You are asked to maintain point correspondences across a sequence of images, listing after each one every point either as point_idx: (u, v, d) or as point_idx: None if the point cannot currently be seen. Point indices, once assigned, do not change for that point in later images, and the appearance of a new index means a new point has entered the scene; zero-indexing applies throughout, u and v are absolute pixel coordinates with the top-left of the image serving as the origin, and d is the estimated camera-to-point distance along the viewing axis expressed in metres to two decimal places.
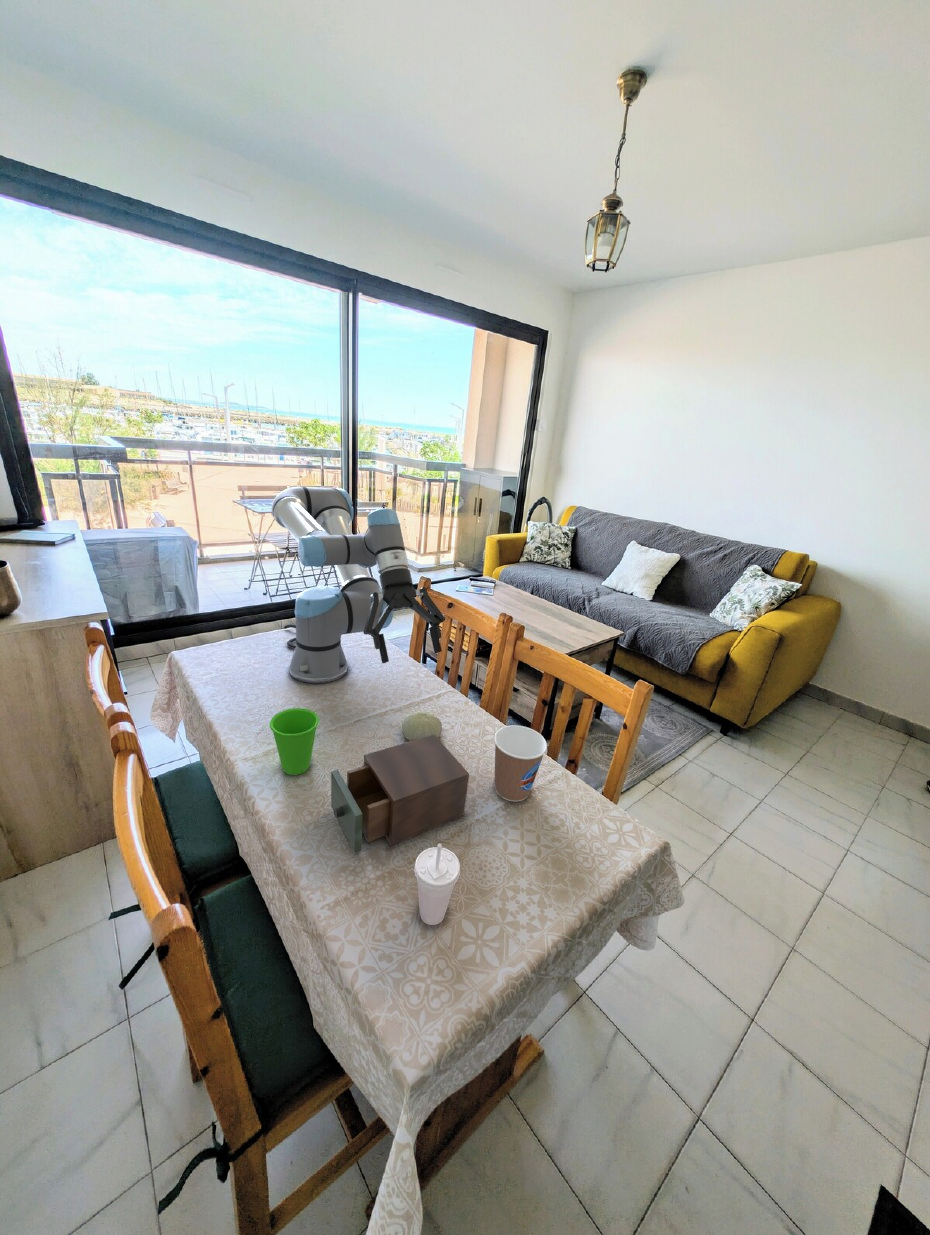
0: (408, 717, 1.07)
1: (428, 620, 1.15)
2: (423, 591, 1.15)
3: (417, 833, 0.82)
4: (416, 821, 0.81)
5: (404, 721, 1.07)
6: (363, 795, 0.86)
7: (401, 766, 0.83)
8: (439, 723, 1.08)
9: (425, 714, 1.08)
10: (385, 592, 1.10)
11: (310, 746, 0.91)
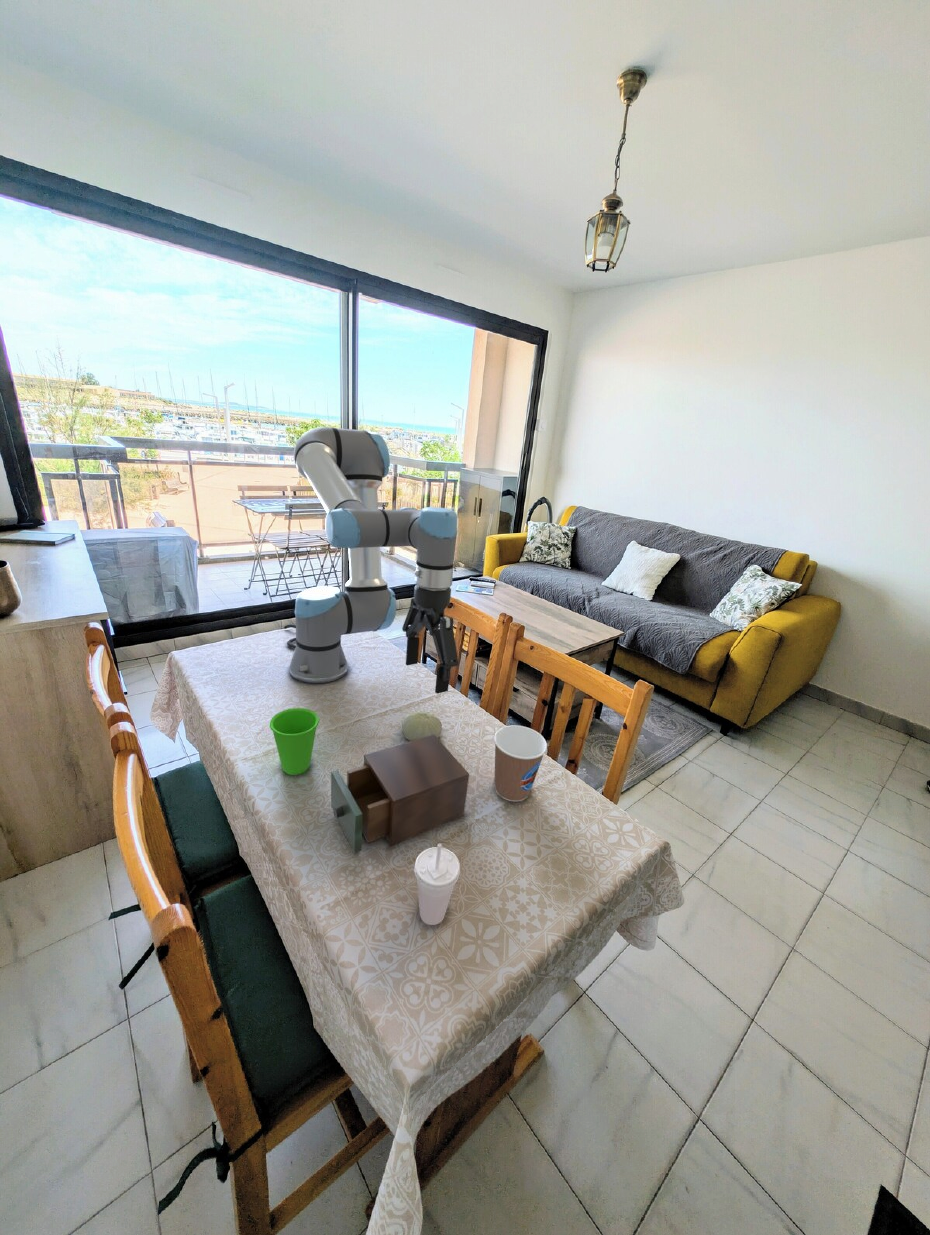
0: (408, 717, 1.07)
1: None
2: (440, 623, 0.93)
3: (417, 833, 0.82)
4: (416, 821, 0.81)
5: (404, 721, 1.07)
6: (363, 795, 0.86)
7: (401, 766, 0.83)
8: (439, 723, 1.08)
9: (425, 714, 1.08)
10: None
11: (310, 746, 0.91)
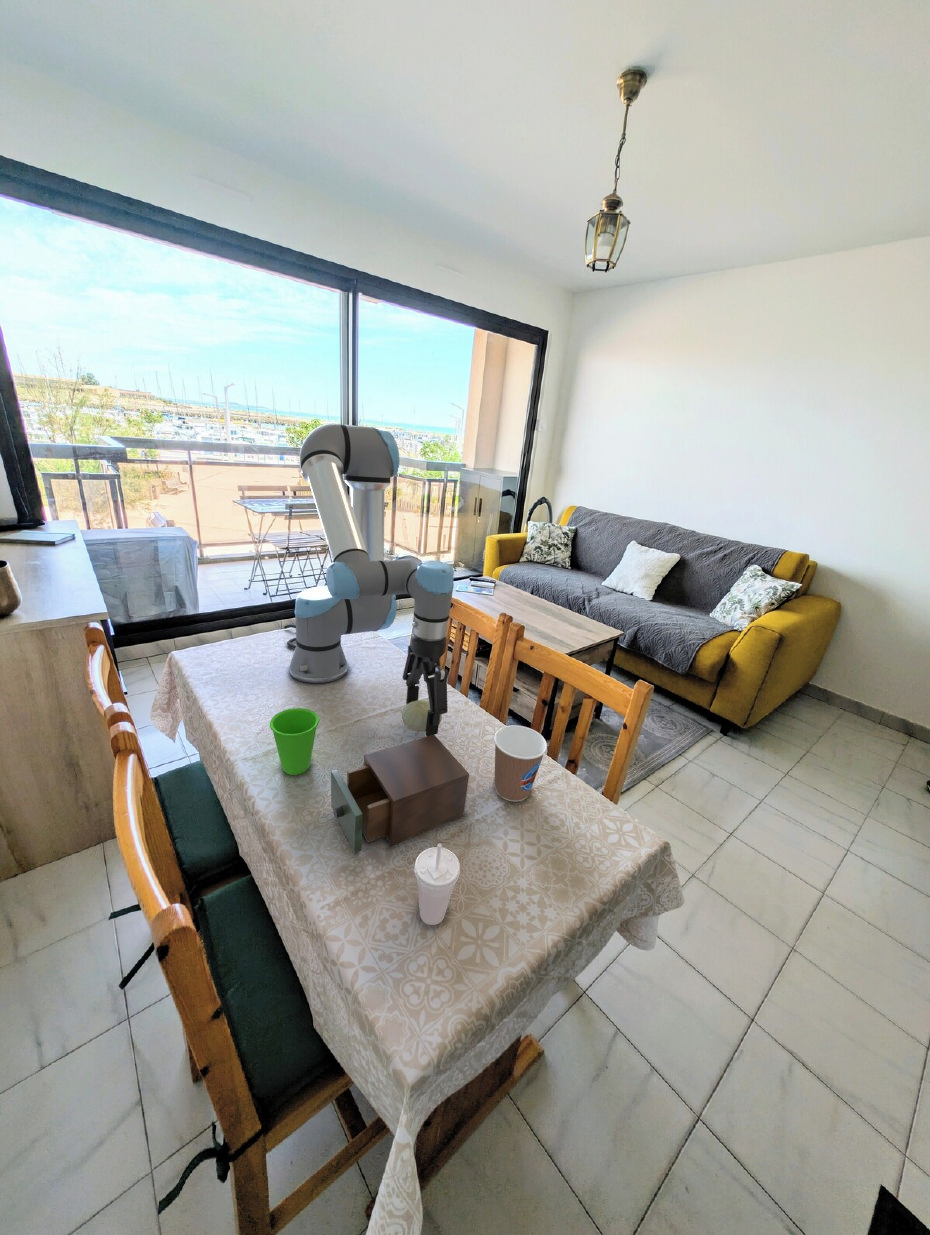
0: (408, 705, 1.07)
1: None
2: (435, 675, 0.97)
3: (417, 833, 0.82)
4: (416, 821, 0.81)
5: (404, 709, 1.07)
6: (363, 795, 0.86)
7: (401, 766, 0.83)
8: None
9: (425, 703, 1.08)
10: None
11: (310, 746, 0.91)
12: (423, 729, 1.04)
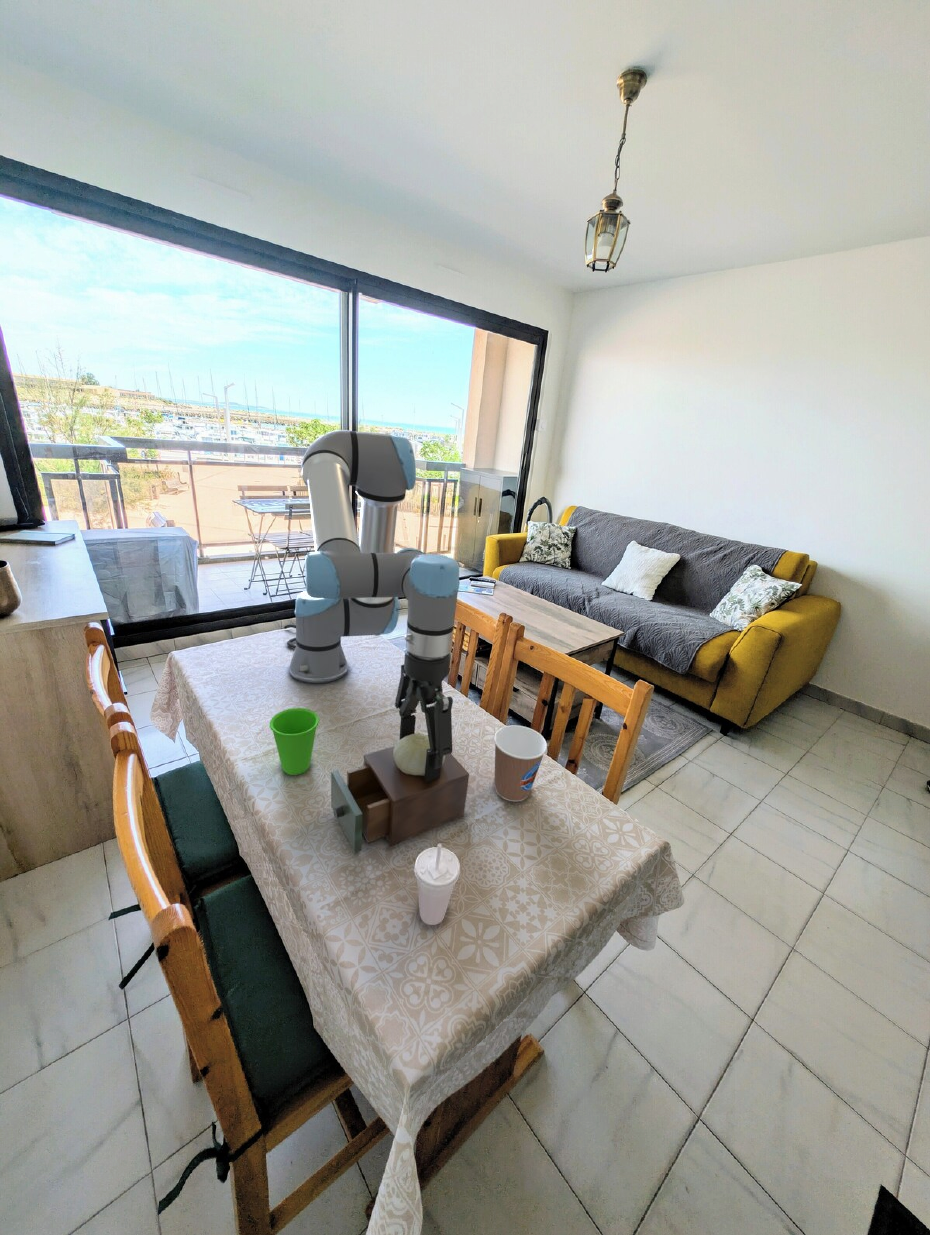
0: (402, 741, 0.83)
1: None
2: (436, 704, 0.74)
3: (417, 833, 0.82)
4: (416, 821, 0.81)
5: (396, 747, 0.83)
6: (363, 795, 0.86)
7: None
8: None
9: (423, 737, 0.84)
10: None
11: (310, 746, 0.91)
12: (421, 773, 0.80)
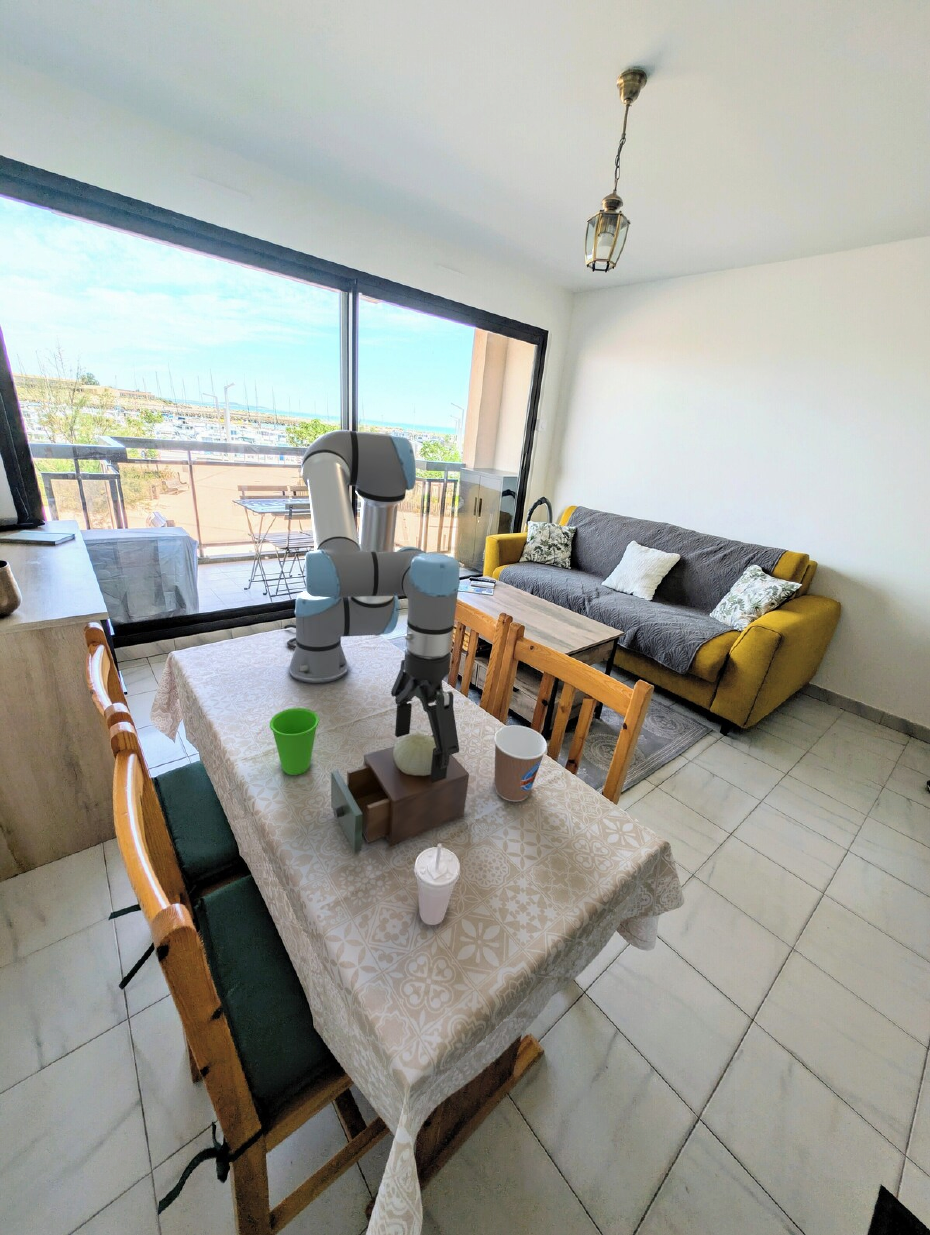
0: (402, 741, 0.83)
1: None
2: (437, 700, 0.73)
3: (417, 833, 0.82)
4: (416, 821, 0.81)
5: (396, 747, 0.83)
6: (363, 795, 0.86)
7: None
8: None
9: (423, 737, 0.84)
10: None
11: (310, 746, 0.91)
12: (421, 773, 0.80)
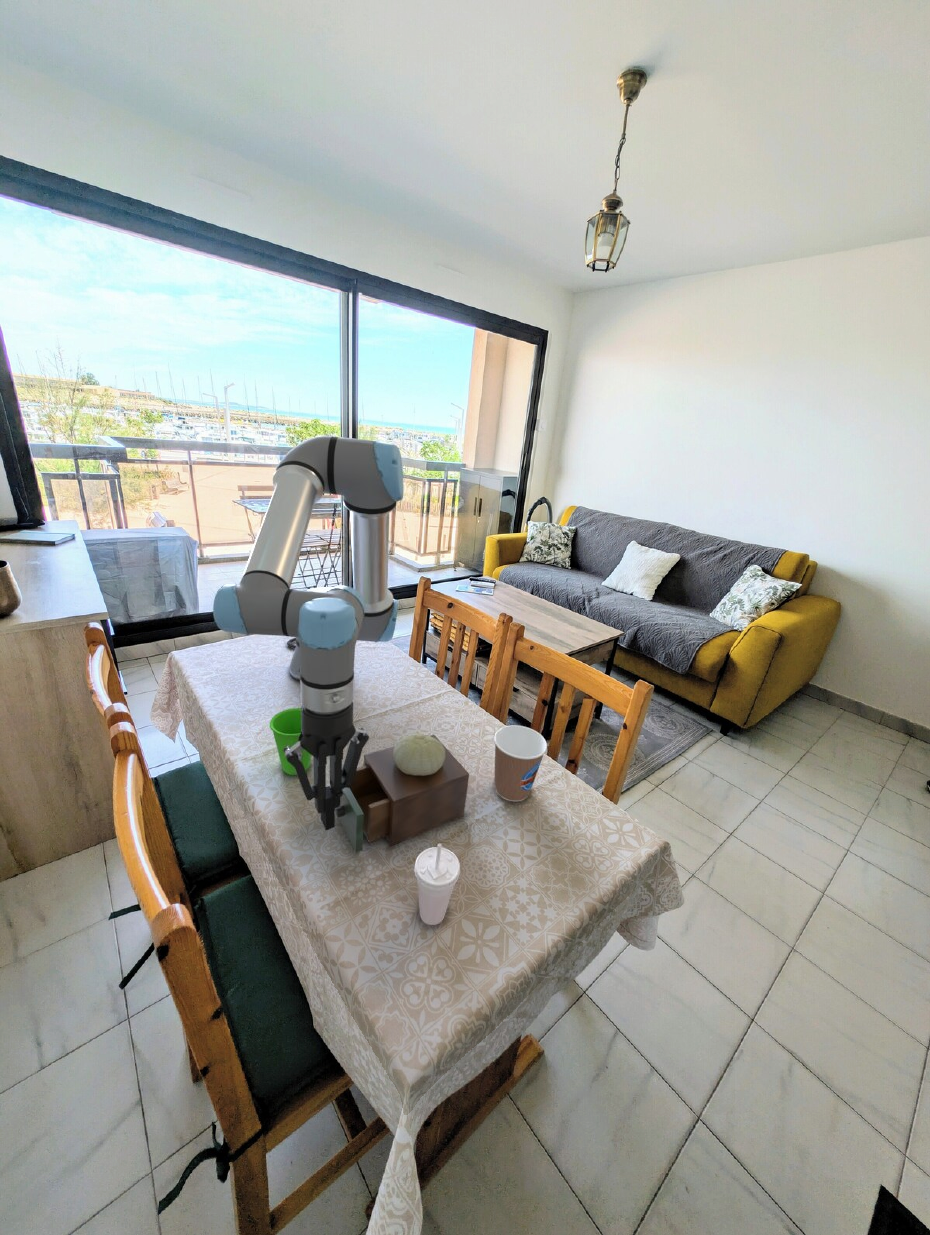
0: (402, 741, 0.83)
1: (331, 779, 0.75)
2: (362, 740, 0.74)
3: (417, 833, 0.82)
4: (416, 821, 0.81)
5: (396, 747, 0.83)
6: (364, 795, 0.86)
7: None
8: (442, 749, 0.84)
9: (424, 737, 0.84)
10: (304, 740, 0.69)
11: None
12: (421, 773, 0.80)
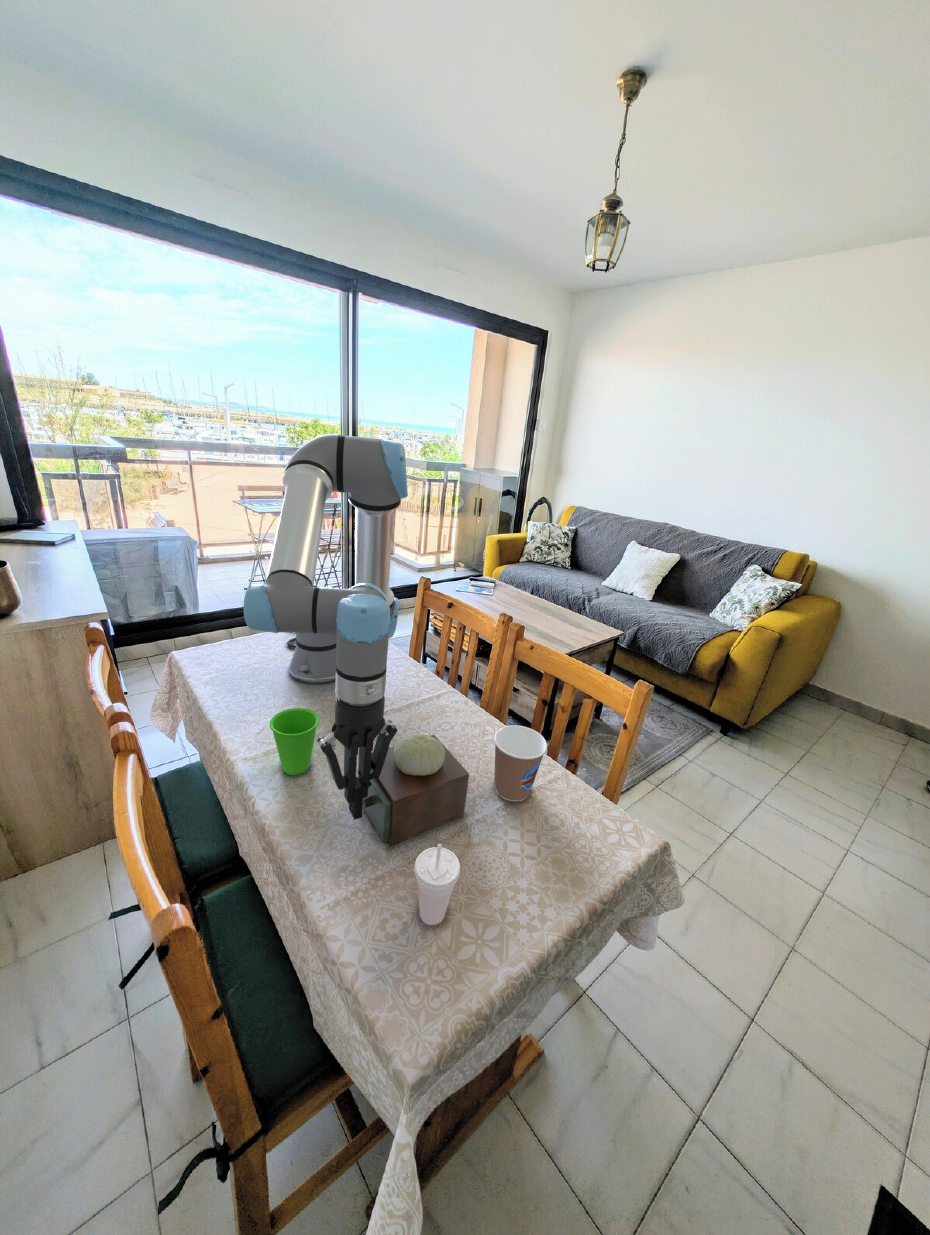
0: (402, 741, 0.83)
1: (360, 769, 0.78)
2: (391, 733, 0.77)
3: (417, 833, 0.82)
4: (416, 821, 0.81)
5: (396, 747, 0.83)
6: None
7: None
8: (442, 749, 0.84)
9: (424, 737, 0.84)
10: (338, 731, 0.71)
11: (310, 746, 0.91)
12: (421, 773, 0.80)
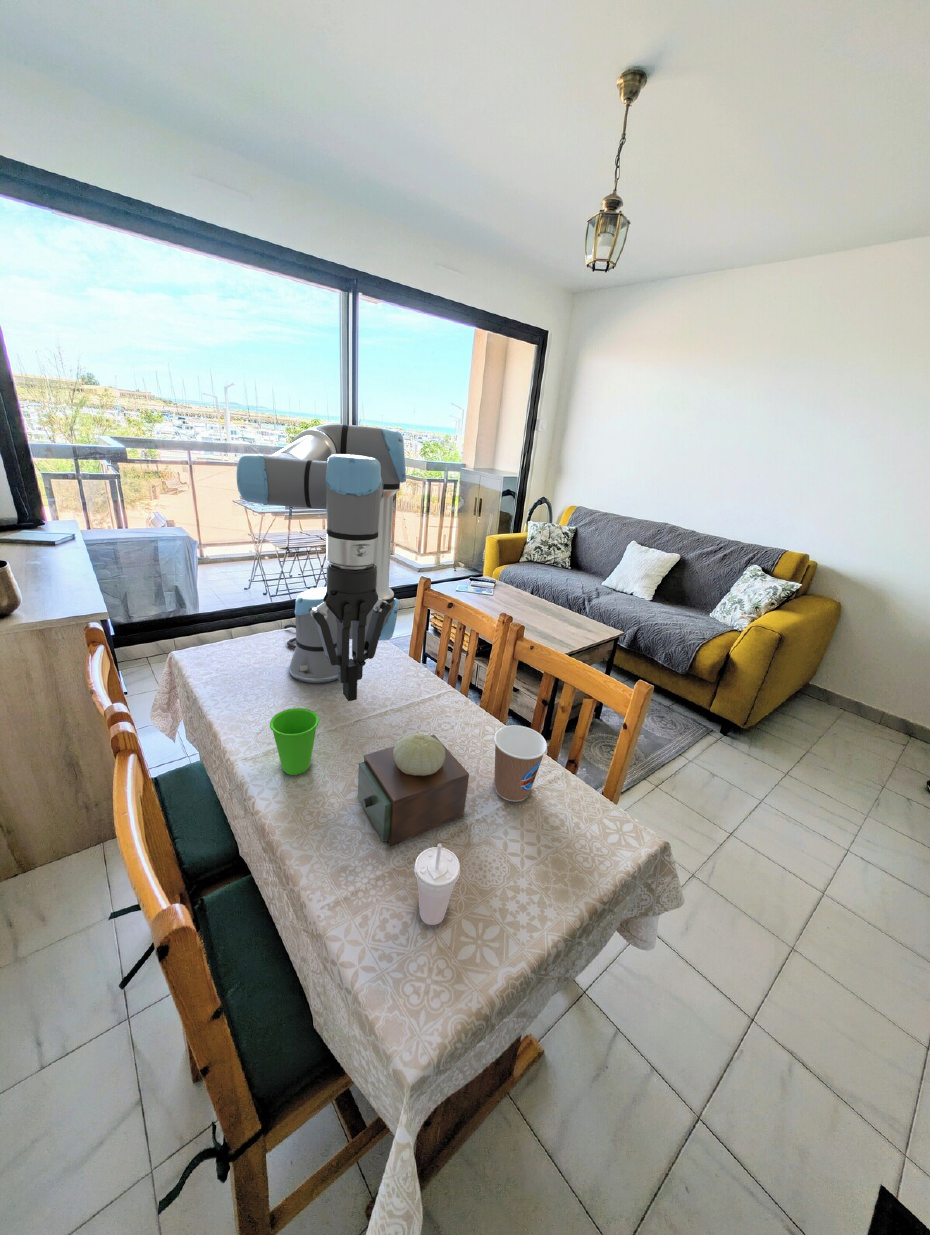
0: (402, 741, 0.83)
1: (354, 648, 0.77)
2: (384, 609, 0.76)
3: (417, 833, 0.82)
4: (416, 821, 0.81)
5: (396, 747, 0.83)
6: None
7: None
8: (442, 749, 0.84)
9: (424, 737, 0.84)
10: (330, 598, 0.70)
11: (310, 746, 0.91)
12: (421, 773, 0.80)
